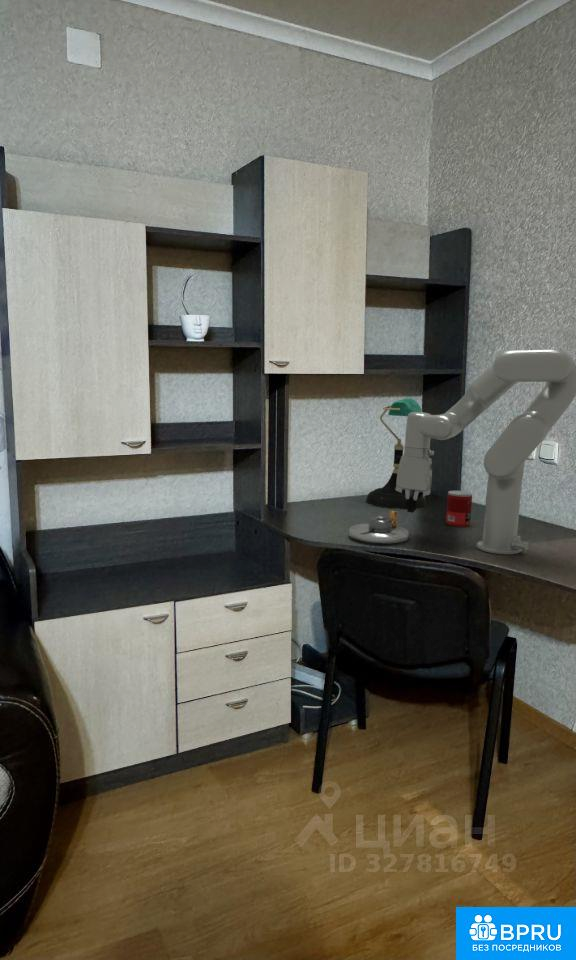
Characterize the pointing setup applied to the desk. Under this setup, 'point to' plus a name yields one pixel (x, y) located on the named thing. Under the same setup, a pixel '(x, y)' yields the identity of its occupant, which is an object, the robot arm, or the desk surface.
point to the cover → (380, 525)
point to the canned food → (459, 508)
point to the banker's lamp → (395, 463)
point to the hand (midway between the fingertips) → (410, 511)
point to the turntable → (365, 535)
